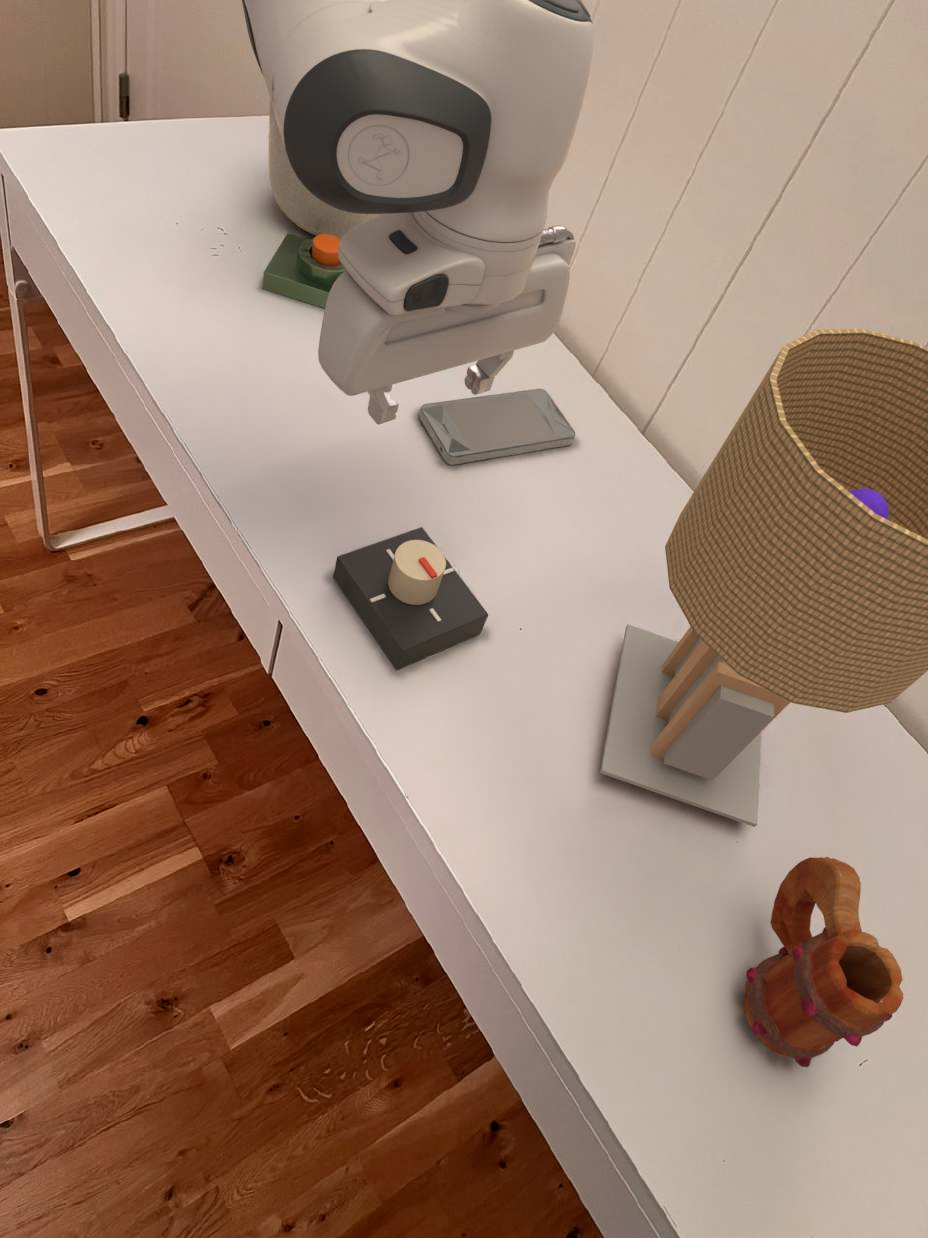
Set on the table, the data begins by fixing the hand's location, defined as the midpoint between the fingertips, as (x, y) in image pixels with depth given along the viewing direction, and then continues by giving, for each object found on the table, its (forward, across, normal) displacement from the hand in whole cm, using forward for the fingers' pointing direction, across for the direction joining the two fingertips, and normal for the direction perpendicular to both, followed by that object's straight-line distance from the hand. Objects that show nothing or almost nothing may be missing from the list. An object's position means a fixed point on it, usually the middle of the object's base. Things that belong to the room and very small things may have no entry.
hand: (430, 402), depth 72 cm
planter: (+17, -23, -49) cm, 57 cm away
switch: (+13, -15, -37) cm, 42 cm away
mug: (+18, -2, +49) cm, 52 cm away
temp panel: (+17, +3, +7) cm, 19 cm away
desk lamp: (+17, -11, +29) cm, 36 cm away
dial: (+14, +3, +7) cm, 16 cm away
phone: (+17, -19, -9) cm, 28 cm away
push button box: (+17, -15, -37) cm, 44 cm away
